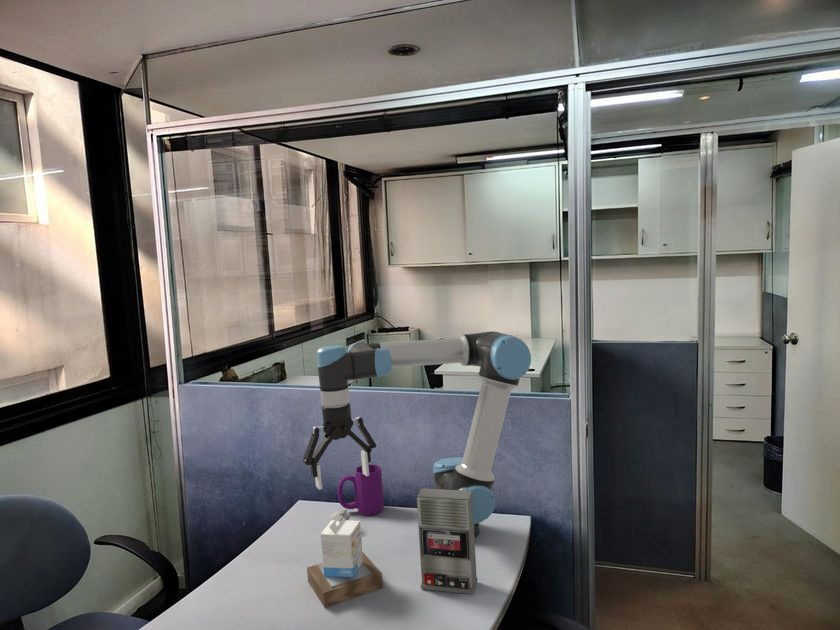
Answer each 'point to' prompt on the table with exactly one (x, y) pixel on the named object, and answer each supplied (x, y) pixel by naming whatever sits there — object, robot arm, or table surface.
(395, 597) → the table surface
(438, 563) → the cassette tape recorder
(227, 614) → the table surface
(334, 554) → the ink box
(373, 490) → the mug
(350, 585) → the walnut base
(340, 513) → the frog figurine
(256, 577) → the table surface
